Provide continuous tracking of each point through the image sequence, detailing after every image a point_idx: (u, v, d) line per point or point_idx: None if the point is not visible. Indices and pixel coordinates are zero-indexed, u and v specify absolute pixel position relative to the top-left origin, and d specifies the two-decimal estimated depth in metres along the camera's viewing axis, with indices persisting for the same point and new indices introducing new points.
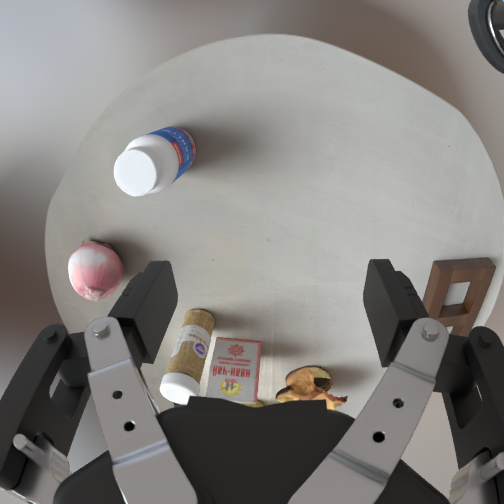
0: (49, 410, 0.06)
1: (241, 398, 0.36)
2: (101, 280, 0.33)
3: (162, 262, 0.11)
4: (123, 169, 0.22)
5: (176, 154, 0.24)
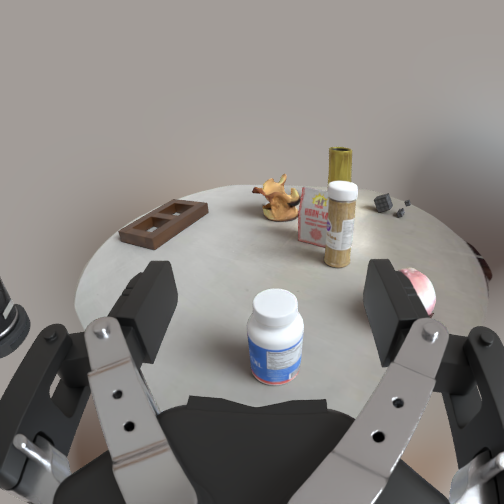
0: (49, 410, 0.06)
1: (312, 191, 0.51)
2: None
3: (162, 262, 0.11)
4: (282, 307, 0.26)
5: None
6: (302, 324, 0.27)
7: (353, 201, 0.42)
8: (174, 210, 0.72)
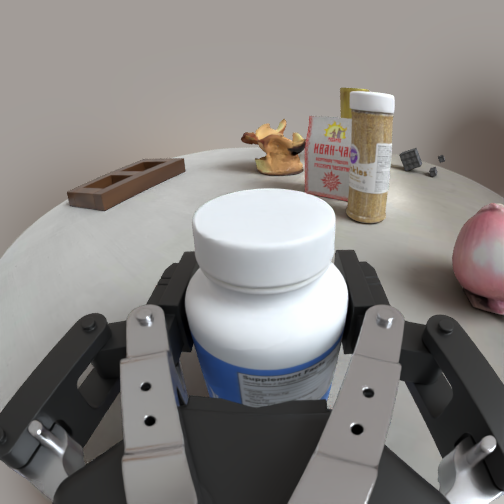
0: (74, 400, 0.06)
1: (324, 120, 0.33)
2: (478, 220, 0.16)
3: None
4: (288, 222, 0.08)
5: None
6: (346, 289, 0.09)
7: (390, 115, 0.24)
8: (143, 171, 0.54)
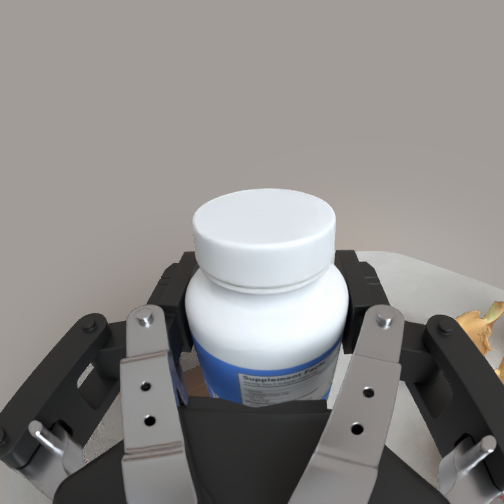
0: (74, 400, 0.06)
1: None
2: None
3: None
4: (289, 223, 0.07)
5: None
6: (346, 290, 0.09)
7: None
8: None
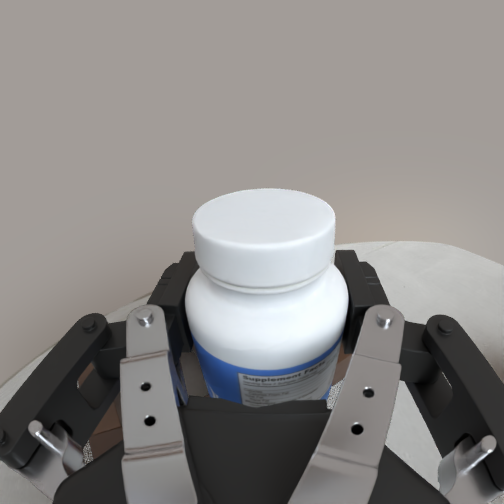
0: (74, 400, 0.06)
1: None
2: None
3: None
4: (288, 222, 0.08)
5: None
6: (346, 289, 0.09)
7: None
8: None
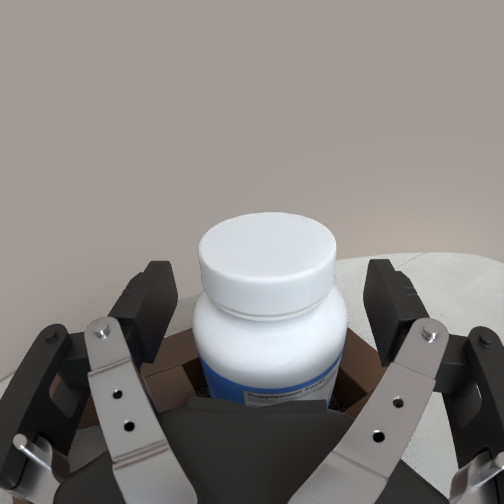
0: (49, 410, 0.06)
1: None
2: None
3: (162, 262, 0.11)
4: (291, 253, 0.08)
5: None
6: (345, 311, 0.09)
7: None
8: None
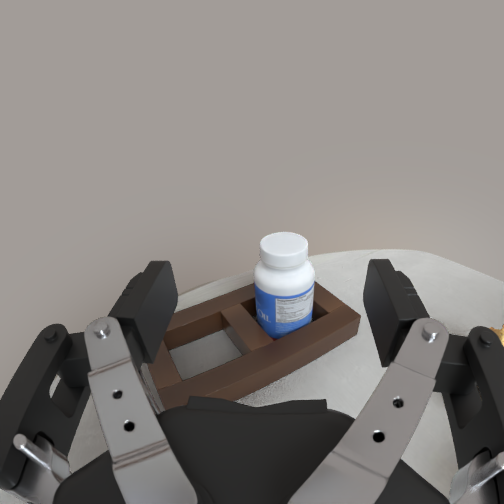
0: (49, 410, 0.06)
1: None
2: None
3: (162, 262, 0.11)
4: (292, 247, 0.24)
5: None
6: (313, 269, 0.26)
7: None
8: None
